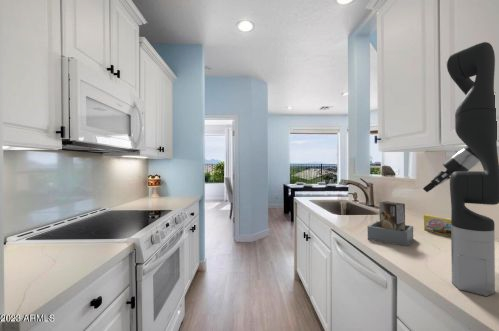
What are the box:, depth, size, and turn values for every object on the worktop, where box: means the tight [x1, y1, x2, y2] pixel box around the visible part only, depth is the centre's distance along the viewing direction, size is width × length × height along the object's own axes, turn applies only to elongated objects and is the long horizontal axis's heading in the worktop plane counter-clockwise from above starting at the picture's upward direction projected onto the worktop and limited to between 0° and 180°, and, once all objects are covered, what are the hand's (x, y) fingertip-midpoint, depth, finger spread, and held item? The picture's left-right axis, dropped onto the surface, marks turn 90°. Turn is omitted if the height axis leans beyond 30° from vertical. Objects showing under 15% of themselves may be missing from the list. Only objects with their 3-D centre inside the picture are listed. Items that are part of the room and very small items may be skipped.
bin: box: [367, 220, 414, 247], centre depth 116 cm, size 14×16×6 cm
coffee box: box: [378, 200, 406, 231], centre depth 116 cm, size 9×6×16 cm
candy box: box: [423, 214, 451, 237], centre depth 123 cm, size 16×2×8 cm, turn 21°
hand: (426, 189), depth 106 cm, fingers open, 8 cm apart
